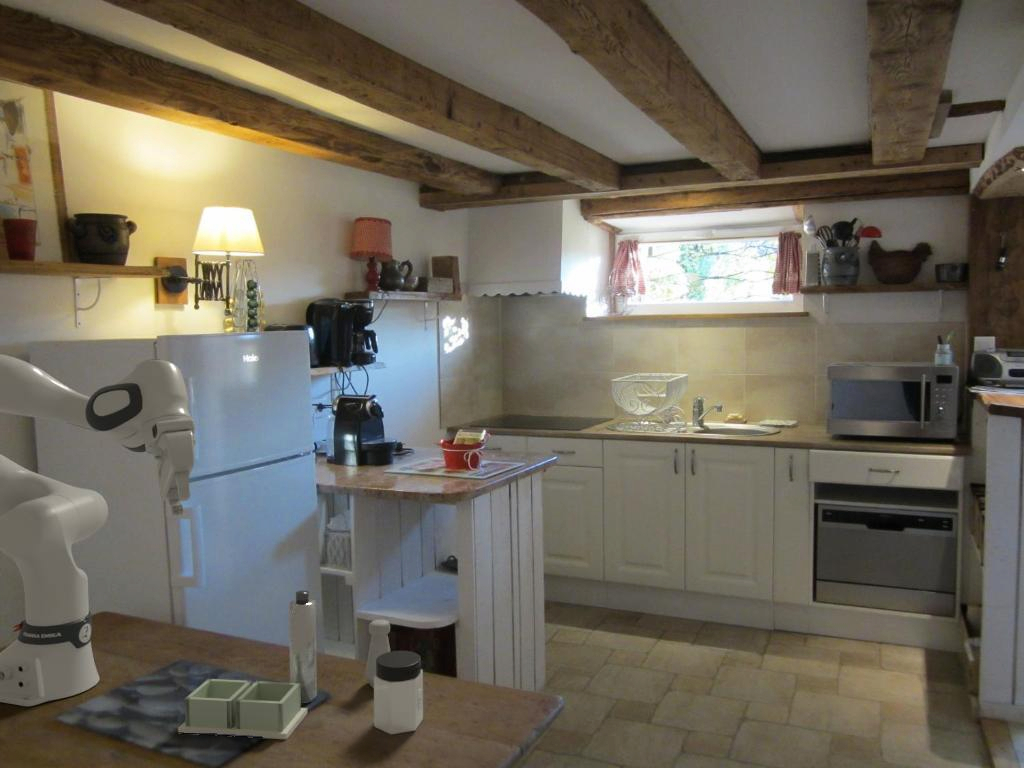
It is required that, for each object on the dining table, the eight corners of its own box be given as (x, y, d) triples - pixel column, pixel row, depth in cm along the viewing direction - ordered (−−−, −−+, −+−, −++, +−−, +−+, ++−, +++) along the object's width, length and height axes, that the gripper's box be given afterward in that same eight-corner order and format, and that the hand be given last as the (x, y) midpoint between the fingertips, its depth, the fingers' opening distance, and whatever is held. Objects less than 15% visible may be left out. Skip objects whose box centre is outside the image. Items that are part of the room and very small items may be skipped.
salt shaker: (388, 691, 160) (387, 627, 159) (361, 689, 161) (360, 625, 160) (398, 679, 165) (397, 617, 165) (371, 677, 167) (371, 615, 166)
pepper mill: (286, 703, 154) (284, 595, 153) (296, 692, 159) (294, 588, 158) (311, 704, 154) (310, 596, 153) (320, 693, 159) (319, 588, 158)
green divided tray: (178, 733, 143) (177, 700, 142) (205, 708, 152) (205, 677, 152) (286, 739, 140) (286, 705, 140) (307, 713, 150) (307, 681, 150)
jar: (413, 737, 141) (412, 670, 141) (368, 733, 143) (368, 666, 142) (427, 714, 150) (427, 651, 149) (386, 710, 151) (385, 648, 151)
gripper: (146, 460, 159) (156, 527, 154) (157, 419, 143) (169, 492, 138) (180, 456, 162) (191, 521, 158) (195, 415, 146) (207, 487, 142)
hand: (181, 507), depth 148 cm, fingers open, 8 cm apart
